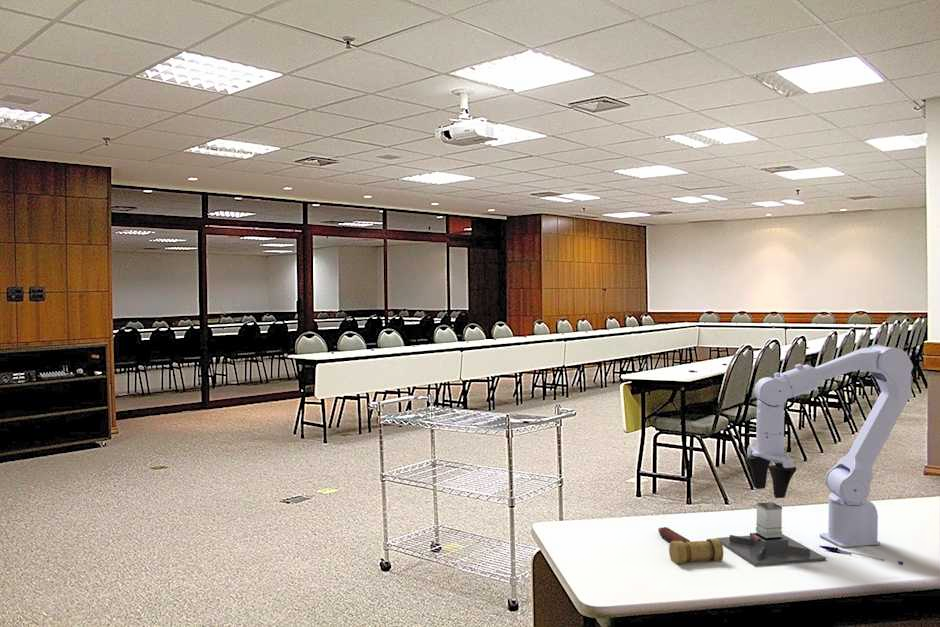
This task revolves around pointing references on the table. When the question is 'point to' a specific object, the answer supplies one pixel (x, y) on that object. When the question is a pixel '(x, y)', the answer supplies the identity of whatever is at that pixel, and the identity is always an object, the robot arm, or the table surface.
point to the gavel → (691, 548)
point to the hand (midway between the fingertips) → (769, 492)
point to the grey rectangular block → (769, 520)
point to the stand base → (769, 550)
